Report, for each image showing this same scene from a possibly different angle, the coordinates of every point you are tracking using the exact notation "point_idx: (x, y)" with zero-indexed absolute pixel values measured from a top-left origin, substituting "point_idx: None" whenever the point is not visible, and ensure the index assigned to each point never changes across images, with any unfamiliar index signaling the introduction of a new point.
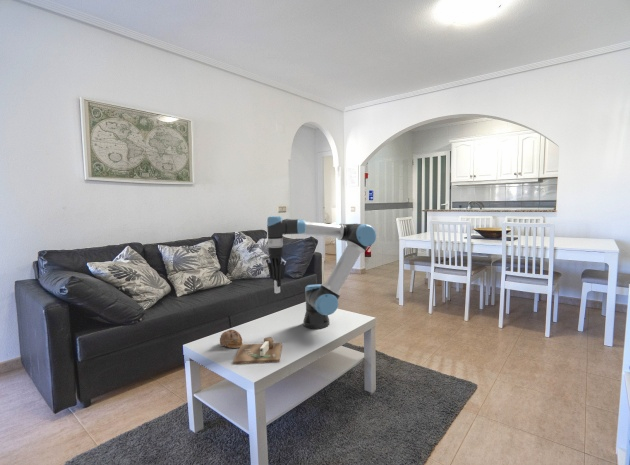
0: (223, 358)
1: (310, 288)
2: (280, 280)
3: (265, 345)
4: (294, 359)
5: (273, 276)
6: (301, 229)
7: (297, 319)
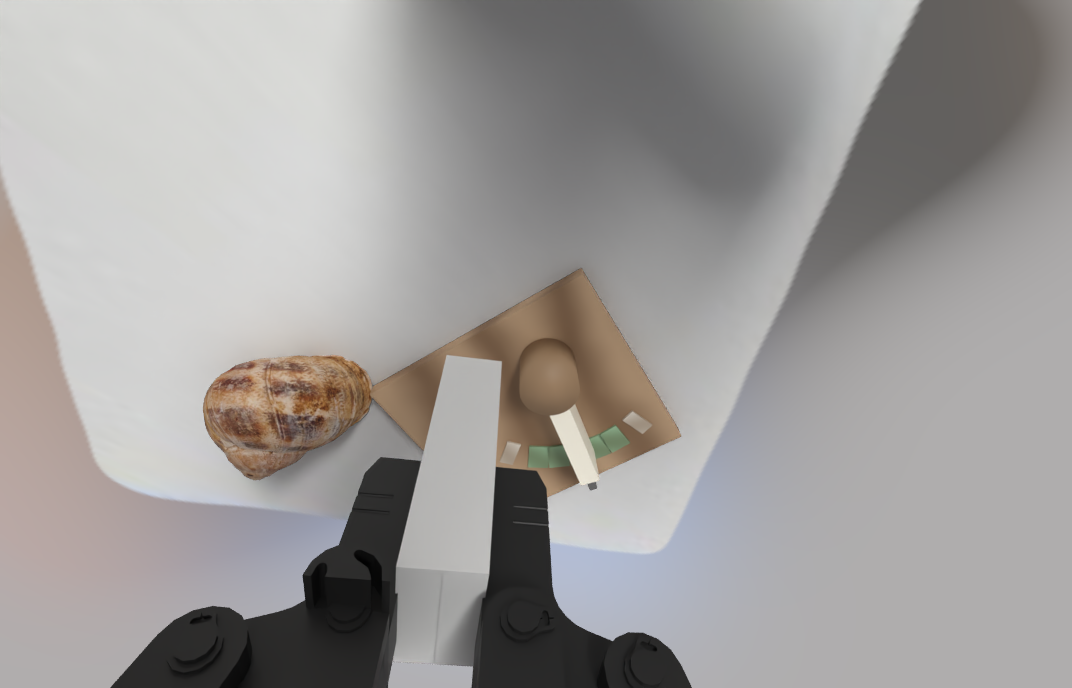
0: None
1: None
2: (553, 601)
3: (588, 454)
4: (739, 380)
5: None
6: None
7: None
